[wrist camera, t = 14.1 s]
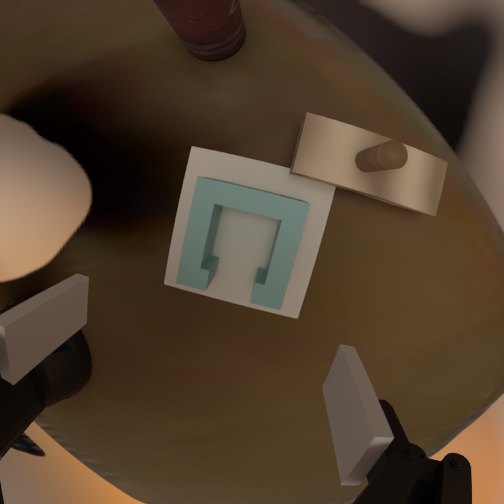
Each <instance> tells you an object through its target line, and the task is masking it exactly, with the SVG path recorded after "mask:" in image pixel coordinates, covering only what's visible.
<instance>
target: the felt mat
mask: <svg viewBox="0 0 504 504" xmlns="http://www.w3.org/2000/svg"><path fill="white" fill-rule="evenodd" d="M289 173H290V168H286V167H282V166H278V165H274V164H270V163H266V162H262V161H258V160H254V159H249V158H245V157H241V156H236V155H232V154H227V153H223V152H218V151H213V150H208V149H203V148H198V147H193V146H192V148H191V152H190V156H189V161H188V165H187V169H186V173H185V178H184V182H183V187H182V191H181V196H180V200H179V205H178V210H177V215H176V220H175V225H174V230H173V235H172V240H171V246H170V251H169V257H168V262H167V268H166V274H165V280H164V284H165V285H169V286H172V287H176V288H179V289H183V290H186V291H190V292H194V293H197V294H201V295H205V296H208V297H212V298H216V299H220V300H223V301H227V302H231V303H235V304H239V305H243V306H247V307H251V308H255V309H259V310H263V311H267V312H271V313H275V314H279V315H283V316H288V317H292V318H296V319H298V316H299V313H300V309H301V306H302V303H303V300H304V297H305V294H306V290H307V287H308V284H309V281H310V277H311V274H312V271H313V267H314V264H315V260H316V257H317V254H318V250H319V247H320V243H321V240H322V236H323V232H324V229H325V225H326V222H327V218H328V214H329V211H330V207H331V203H332V199H333V195H334V191H335V188H336V187H335V186H332V185H328V184H325V183H321V182H318V181H314V180H310V179H307V178H303V177H299V176H296V175H292V174H289ZM197 177H209V178H214V179H218V180H223V181H227V182H232V183H236V184H240V185H244V186H248V187H253V188H257V189H261V190H265V191H269V192H273V193H277V194H281V195H284V196H288V197H292V198H296V199H300V200H303V201H306V202H307V203H309V204H310V206H309V210H308V213H307V217H306V221H305V225H304V228H303V232H302V236H301V239H300V243H299V247H298V250H297V254H296V258H295V261H294V265H293V268H292V272H291V275H290V279H289V282H288V286H287V289H286V292H285V296H284V299H283V303H282V306H281V309H280V310H277V309H273V308H269V307H265V306H261V305H257V304H253V303H250V299H251V294H252V290H253V285H254V281H255V277H256V273H257V269H258V267H260V268H264V269H266V268H267V264H268V260H269V256H270V253H271V249H272V245H273V241H274V237H275V233H276V230H277V226H278V222H279V220H278V219H275V218H271V217H267V216H263V215H259V214H255V213H251V212H247V211H243V210H239V209H234V208H230V207H226V206H223V207H222V212H221V216H220V220H219V225H218V229H217V233H216V238H215V242H214V247H213V252H212V255H213V256H217V257H220V258H219V262H218V267H217V271H216V275H215V277H214V278H213V280H212V281H211V283H210V285H209V286H208V288H207V289H206V291H203V290H199V289H196V288H192V287H188V286H185V285H181V284H178V283H176V280H177V274H178V269H179V263H180V258H181V253H182V248H183V242H184V237H185V232H186V227H187V223H188V218H189V213H190V208H191V204H192V199H193V195H194V190H195V186H196V181H197Z"/></svg>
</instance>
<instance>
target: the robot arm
mask: <svg viewBox="0 0 504 504" xmlns="http://www.w3.org/2000/svg"><path fill="white" fill-rule="evenodd" d="M88 285H89V277H87V276H84V275H81V274H78V273H77V274H75V275H73V276H71V277H69V278H68V279H66V280H64V281H62V282H60V283H58V284H56V285H54V286H52V287H50V288H48V289H47V290H45V291H43V292H41V293H35V292H29V293H25V294H22V295H20V296H18V297H16V298H15V299H13V300H11V301H10V302H9V303H8V304H7V305H6V307H5V308H4V309H3V310H2V311H0V460H1V459H2V457H3V456H4V455H5V454H6V452H7V451H8V450H9V449H10V448H11V446H12V445H13V444H14V443H15V442H16V441H17V439H18V438H19V437H20V436H21V435H22V434H23V432H24V431H25V430H26V429H27V428H28V427H29V425H30V424H31V423H32V422H33V421H34V420H35V418H36V417H37V416H38V415H39V414H40V413H41V412H42V411H43V410H44V409H45V408H46V407H49V406H51V405H53V404H55V403H57V402H59V401H61V400H63V399H67V398H70V397H72V396H74V395H76V394H77V393H78V392H79V391H80V390H81V389H82V388H83V386H84V385H85V384H86V383H87V381H88V379H89V377H90V373H91V359H90V354H89V350H88V347H87V344H86V341H85V339H84V337H83V335H82V333H81V331H80V329H81V328H82V327H83V326H84V325H86V324H87V303H88ZM322 390H323V395H324V399H325V404H326V409H327V414H328V419H329V424H330V429H331V434H332V439H333V444H334V449H335V454H336V459H337V464H338V470H339V475H340V481H341V485H360V484H361V483H362V481H363V480H364V479H365V478H366V476H367V479H368V483H369V484H368V485H367V487H366V488H365V489H364V490H363V491H362V493H361V494H360V495H359V496H358V497H357V498H356V500H355V501H354V502H353V504H472V481H471V480H472V479H471V466H470V463H469V461H468V460H467V459H466V458H465V457H464V456H462V455H460V454H458V453H449V454H447V455H446V456H445V457H444V458H443V460H442V461H438V460H433V459H429V458H427V457H426V454H425V452H424V451H423V450H422V448H420V447H419V446H417V445H415V444H412V443H409V441H408V439H407V437H406V435H405V432H404V430H403V428H402V426H401V424H400V423H399V419H398V417H396V416H397V415H396V413H395V411H394V409H393V407H392V406H391V405H390V404H389V403H388V402H387V401H386V400H379V399H378V398H377V396H376V394H375V392H374V389H373V387H372V385H371V383H370V380H369V378H368V376H367V374H366V371H365V369H364V367H363V365H362V363H361V360H360V358H359V356H358V354H357V352H356V350H355V347H352V346H347V345H342V344H340V346H339V349H338V351H337V354H336V356H335V359H334V361H333V364H332V366H331V368H330V371H329V373H328V376H327V378H326V380H325V382H324V385H323V387H322ZM0 504H4V501H3V495H2V489H1V483H0Z"/></svg>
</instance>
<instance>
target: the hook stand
mask: <svg viewBox="0 0 504 504" xmlns="http://www.w3.org/2000/svg"><path fill="white" fill-rule="evenodd" d="M447 164H448V162H446V161H444V160H441V159H439V158H437V157H435V156H432V155H430V154H428V153H425V152H423V151H420V150H418V149H416V148H413V147H411V146H408V145H405V144H403V143H401V142H399V141H397V140H392V139H390V138H387V137H384V136H381V135H379V134H376V133H373V132H370V131H367V130H364V129H361V128H358V127H355V126H352V125H349V124H346V123H343V122H339V121H336V120H333V119H329V118H326V117H323V116H319V115H315V114H312V113H308V112H307V113H306V115H305V117H304V119H303V122H302V124H301V128H300V132H299V136H298V140H297V144H296V148H295V152H294V156H293V160H292V164H291V168H290V173H289V174H292V175H296V176H299V177H303V178H307V179H310V180H314V181H318V182H321V183H325V184H328V185H332V186H335V187H338V188H341V189H345V190H348V191H351V192H355V193H358V194H361V195H364V196H367V197H371V198H374V199H377V200H380V201H383V202H386V203H389V204H392V205H395V206H398V207H401V208H404V209H407V210H410V211H413V212H417V213H421V214H425V215H429V216H433V217H435V216H436V213H437V209H438V205H439V200H440V196H441V192H442V188H443V183H444V178H445V174H446V169H447Z"/></svg>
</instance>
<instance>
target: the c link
mask: <svg viewBox="0 0 504 504" xmlns="http://www.w3.org/2000/svg"><path fill="white" fill-rule="evenodd" d="M223 206H226V207H230V208H234V209H239V210H243V211H247V212H251V213H255V214H259V215H263V216H267V217H271V218H275V219H278V220H279V222H278V226H277V230H276V233H275V237H274V241H273V245H272V249H271V253H270V256H269V260H268V264H267V268H266V269H264V268H260V267H258V269H257V273H256V277H255V281H254V285H253V290H252V294H251V299H250V303H253V304H257V305H261V306H265V307H269V308H273V309H277V310H280V309H281V306H282V303H283V299H284V296H285V292H286V289H287V286H288V282H289V279H290V275H291V272H292V268H293V265H294V261H295V258H296V254H297V250H298V247H299V243H300V239H301V236H302V232H303V228H304V225H305V221H306V217H307V213H308V210H309V206H310V204H309V203H307V202H306V201H303V200H300V199H296V198H292V197H288V196H284V195H281V194H277V193H273V192H269V191H265V190H261V189H257V188H253V187H248V186H244V185H240V184H236V183H232V182H227V181H223V180H218V179H214V178H209V177H197V181H196V186H195V190H194V195H193V199H192V204H191V208H190V213H189V218H188V223H187V227H186V232H185V237H184V242H183V248H182V253H181V258H180V263H179V269H178V274H177V280H176V283H178V284H181V285H185V286H188V287H192V288H196V289H199V290H203V291H206V289H207V288H208V286H209V285H210V283H211V281H212V280H213V278H214V277H215V275H216V271H217V267H218V262H219V258H220V257H217V256H213V255H212V252H213V247H214V242H215V238H216V233H217V229H218V225H219V220H220V216H221V212H222V207H223Z"/></svg>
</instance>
